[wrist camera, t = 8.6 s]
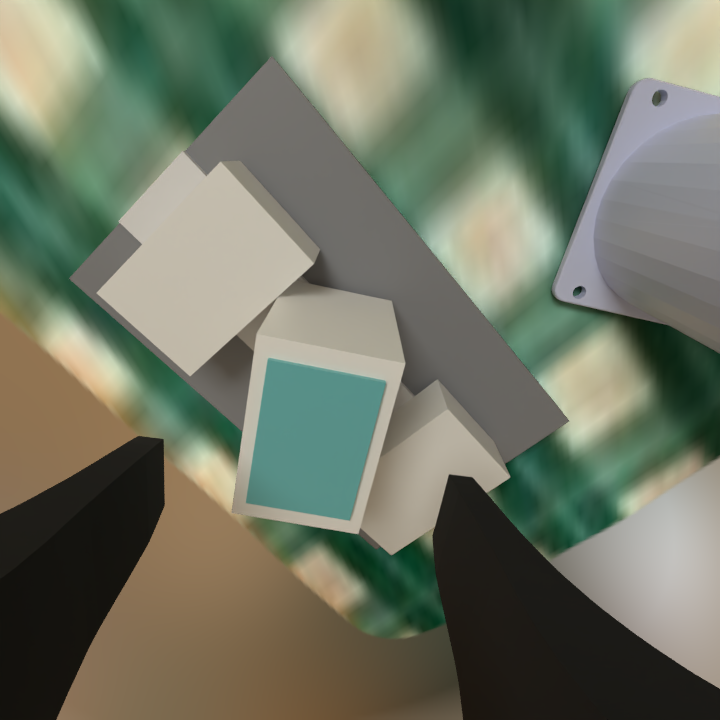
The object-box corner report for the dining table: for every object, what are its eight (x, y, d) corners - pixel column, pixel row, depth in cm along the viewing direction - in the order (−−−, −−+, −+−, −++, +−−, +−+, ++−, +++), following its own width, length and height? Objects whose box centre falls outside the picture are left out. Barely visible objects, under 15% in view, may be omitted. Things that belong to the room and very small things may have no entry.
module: (391, 300, 18) (406, 365, 13) (358, 433, 21) (358, 537, 15) (288, 278, 18) (255, 335, 12) (266, 415, 20) (230, 516, 15)
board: (558, 407, 22) (599, 458, 18) (375, 532, 25) (378, 597, 21) (277, 62, 17) (254, 35, 13) (85, 271, 19) (21, 298, 16)
